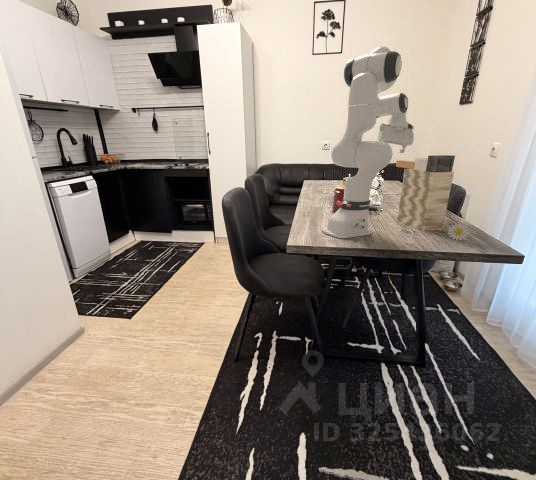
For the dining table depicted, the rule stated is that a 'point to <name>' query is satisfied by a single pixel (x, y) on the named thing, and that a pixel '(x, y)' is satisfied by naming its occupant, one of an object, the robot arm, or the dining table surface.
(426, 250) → the dining table surface
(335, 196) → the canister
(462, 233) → the decorative flower
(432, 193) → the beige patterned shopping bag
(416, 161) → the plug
